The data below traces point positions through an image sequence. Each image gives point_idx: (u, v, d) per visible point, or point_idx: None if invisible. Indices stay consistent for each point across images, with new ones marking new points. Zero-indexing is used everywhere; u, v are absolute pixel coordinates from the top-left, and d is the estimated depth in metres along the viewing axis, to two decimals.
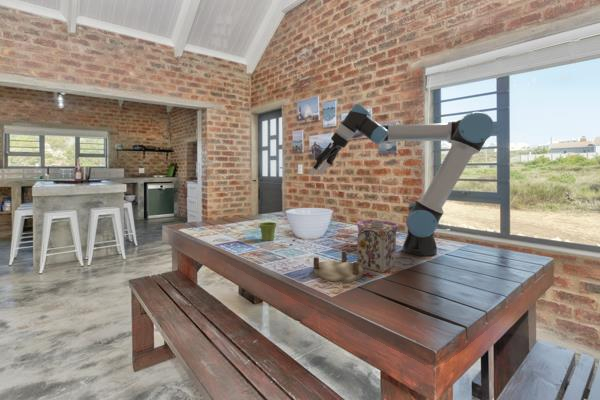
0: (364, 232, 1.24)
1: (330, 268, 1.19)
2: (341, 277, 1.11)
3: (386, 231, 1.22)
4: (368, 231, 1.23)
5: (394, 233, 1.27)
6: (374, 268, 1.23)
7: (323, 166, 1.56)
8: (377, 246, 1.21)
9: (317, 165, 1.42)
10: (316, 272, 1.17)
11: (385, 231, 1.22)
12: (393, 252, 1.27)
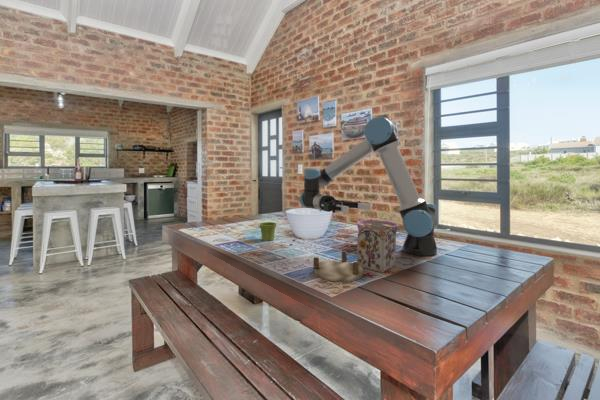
0: (364, 232, 1.24)
1: (330, 268, 1.19)
2: (341, 277, 1.11)
3: (386, 231, 1.22)
4: (368, 231, 1.23)
5: (394, 233, 1.27)
6: (374, 268, 1.23)
7: (362, 207, 1.41)
8: (377, 246, 1.21)
9: (336, 207, 1.33)
10: (316, 272, 1.17)
11: (385, 231, 1.22)
12: (393, 252, 1.27)
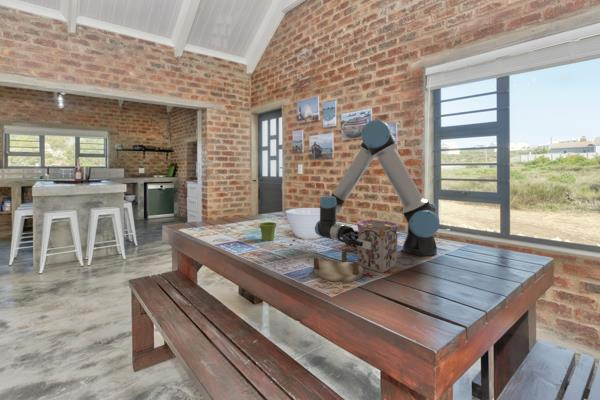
0: (364, 232, 1.24)
1: (330, 268, 1.19)
2: (341, 277, 1.11)
3: (386, 231, 1.21)
4: (368, 231, 1.23)
5: (395, 233, 1.26)
6: (374, 268, 1.23)
7: None
8: (377, 246, 1.21)
9: (357, 242, 1.24)
10: (316, 272, 1.17)
11: (385, 231, 1.21)
12: (394, 252, 1.27)
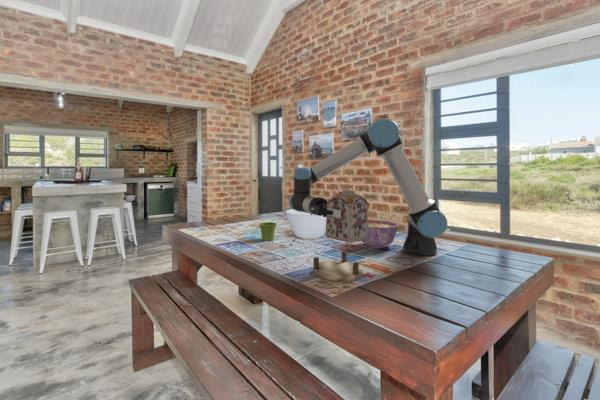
0: (332, 200, 1.18)
1: (330, 268, 1.19)
2: (341, 277, 1.11)
3: (355, 199, 1.14)
4: (336, 199, 1.16)
5: (366, 202, 1.19)
6: (342, 238, 1.16)
7: None
8: (344, 214, 1.14)
9: (327, 211, 1.17)
10: (316, 272, 1.17)
11: (353, 199, 1.14)
12: (365, 223, 1.20)
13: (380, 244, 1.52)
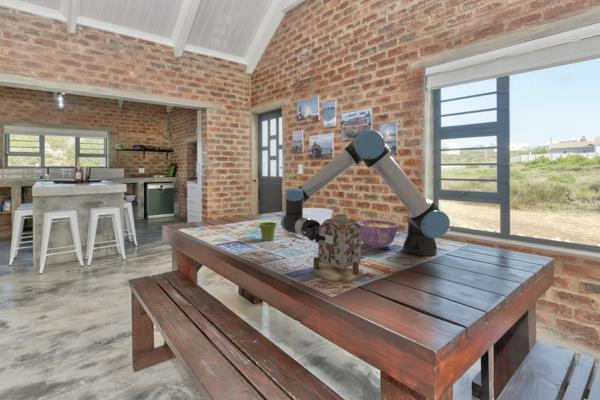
0: (325, 225, 1.16)
1: (330, 268, 1.19)
2: (341, 277, 1.11)
3: (347, 224, 1.12)
4: (328, 224, 1.14)
5: (359, 227, 1.17)
6: (334, 264, 1.14)
7: None
8: (337, 240, 1.12)
9: (319, 236, 1.15)
10: (316, 272, 1.17)
11: (346, 224, 1.12)
12: (357, 248, 1.18)
13: (380, 244, 1.52)
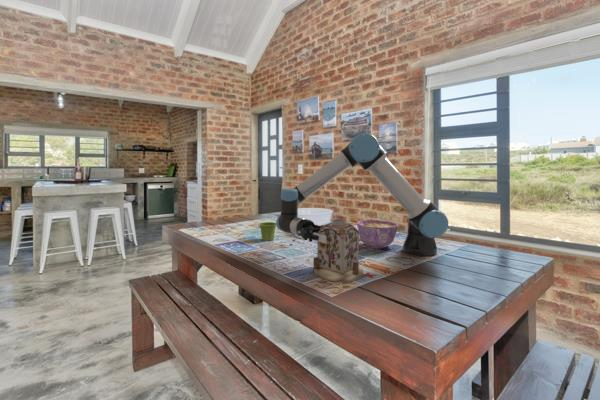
0: (324, 231, 1.16)
1: None
2: (341, 277, 1.11)
3: (346, 229, 1.14)
4: (328, 229, 1.15)
5: (357, 231, 1.19)
6: (334, 269, 1.15)
7: None
8: (337, 245, 1.13)
9: (312, 236, 1.17)
10: (316, 272, 1.17)
11: (345, 229, 1.13)
12: (356, 251, 1.19)
13: (380, 244, 1.52)
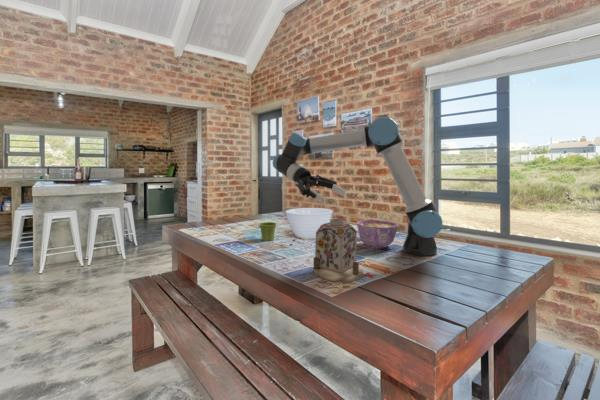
0: (322, 230, 1.17)
1: None
2: (341, 277, 1.11)
3: (345, 229, 1.15)
4: (326, 229, 1.16)
5: (354, 231, 1.20)
6: (332, 268, 1.16)
7: (336, 190, 1.37)
8: (335, 245, 1.14)
9: (310, 193, 1.28)
10: (316, 272, 1.17)
11: (344, 229, 1.15)
12: (353, 251, 1.21)
13: (380, 244, 1.52)
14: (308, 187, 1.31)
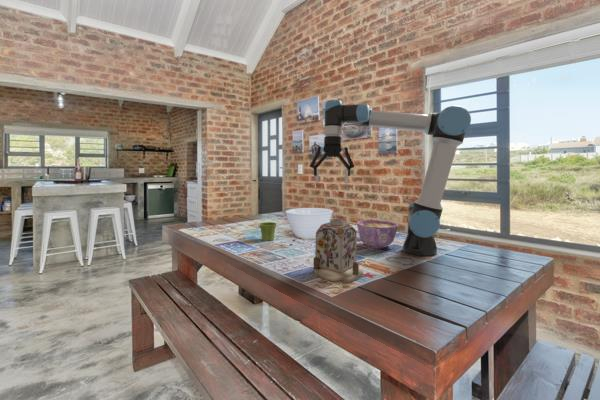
0: (322, 230, 1.17)
1: None
2: (341, 277, 1.11)
3: (345, 229, 1.15)
4: (326, 229, 1.16)
5: (354, 231, 1.20)
6: (332, 268, 1.16)
7: (345, 174, 1.48)
8: (335, 245, 1.14)
9: (314, 171, 1.45)
10: (316, 272, 1.17)
11: (344, 229, 1.15)
12: (353, 251, 1.21)
13: (380, 244, 1.52)
14: (318, 163, 1.44)
